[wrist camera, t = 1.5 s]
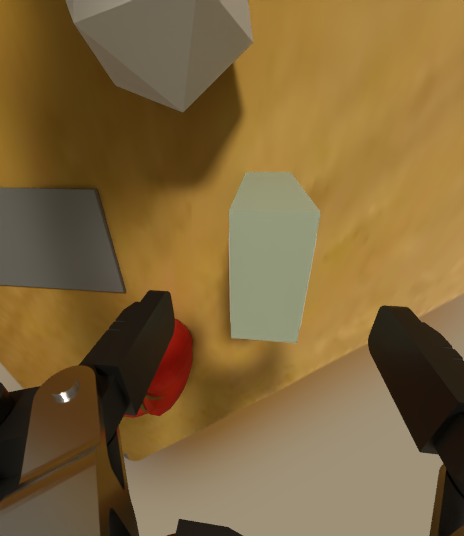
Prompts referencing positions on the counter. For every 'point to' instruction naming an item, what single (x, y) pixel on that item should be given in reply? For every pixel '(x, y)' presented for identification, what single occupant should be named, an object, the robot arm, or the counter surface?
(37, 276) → the mat
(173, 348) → the tomato
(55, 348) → the counter surface
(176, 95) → the die
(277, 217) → the slab
